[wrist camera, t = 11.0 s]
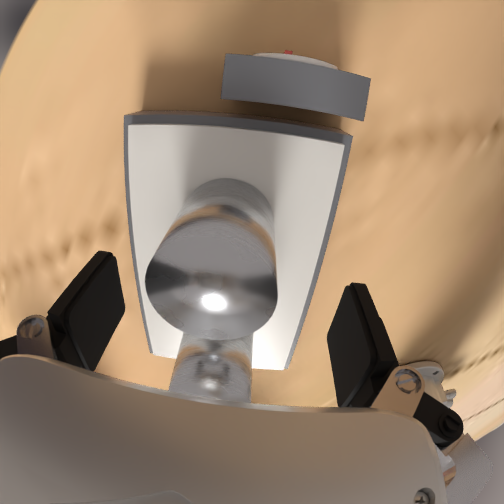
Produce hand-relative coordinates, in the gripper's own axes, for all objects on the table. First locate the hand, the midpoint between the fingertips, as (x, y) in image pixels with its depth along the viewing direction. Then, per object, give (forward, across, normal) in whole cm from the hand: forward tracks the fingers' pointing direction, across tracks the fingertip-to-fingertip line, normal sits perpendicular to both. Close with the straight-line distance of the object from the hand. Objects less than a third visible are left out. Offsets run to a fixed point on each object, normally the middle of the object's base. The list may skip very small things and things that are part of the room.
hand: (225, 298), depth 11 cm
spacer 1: (+5, +1, -1) cm, 5 cm away
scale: (+9, +1, +1) cm, 9 cm away
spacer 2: (+6, +1, +8) cm, 10 cm away
